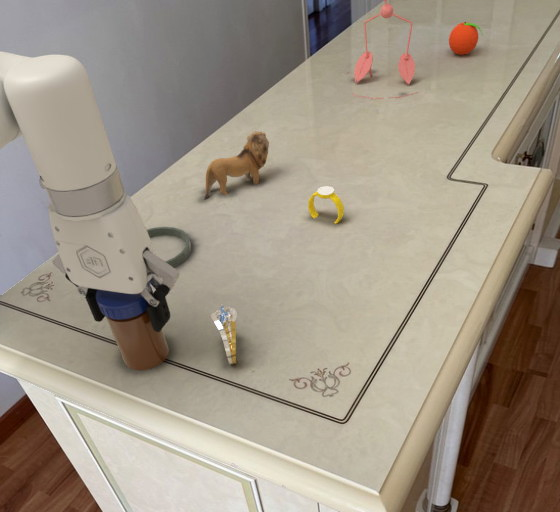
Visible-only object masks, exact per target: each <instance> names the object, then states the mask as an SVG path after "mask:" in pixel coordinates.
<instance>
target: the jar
mask: <svg viewBox="0 0 560 512" xmlns="http://www.w3.org/2000/svg"><path fill="white" fill-rule="evenodd" d="M105 318H106V321H107V323H108V326H109V328H110V330H111V333H112V336H113V339H114V341H115V343H116V346H117V349H118V351H119V353H120V355H121V358H122V360H123V362H124V365H125V366H126V367H127V368H129V369H131V370H134V371H148V370H152V369H153V368H156V367H158V366H159V365H161V364H162V363H163V362H165V360H166V359H167V357H168V356H169V352H170V351H169V350H170V349H169V345H168V342H167V340H166V336H165V332H164V330H163V329H162V330H161V331H160V332H156V331H154V330H153V327H152V324H151V321H150V318H149V315H148V312H147V310H146V311H144V312H143V313H141V314H139V315H137V316H135V317H132V318H128V319H111V318H108V317H106V316H105Z"/></svg>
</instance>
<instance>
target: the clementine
mask: <svg viewBox="0 0 560 512" xmlns="http://www.w3.org/2000/svg"><path fill="white" fill-rule="evenodd" d="M478 30H479V31H478ZM479 32H480V33H481V36H483V31H482V30H481V28H480V26H478V25H477V24H475V23H472V22H468V21H467V22H466V21H464V22H460V23H458V24H457V25H455V26H454V27H453V28H452V30H451V31H450V34H449V36H448V45H449V48H450V50H451V52H453V53H454V54H456V55H459V56H464V55H467V54H470V53H471V52H473V50H474V49H475V48H476V46H477V45H478V42H479Z"/></svg>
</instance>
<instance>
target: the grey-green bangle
mask: <svg viewBox="0 0 560 512" xmlns="http://www.w3.org/2000/svg"><path fill="white" fill-rule="evenodd" d="M146 230H147V232H148V235H149V237H150V239H151V238H154V237H164V236H169V237H176V238H179V239H181V240H182V241H184V242H185V246H184V248H183V249H182V250H181V251H180V252H179V253H178V254H177V255H175V256H174V257H172V258H170V259H168V260H165V262H166V263H168V264H169V265H171V266H172V267H174V268H177V267H179V266H180V265H181V264H183V262H185V261H186V260H187V259H188V257H189V256H190V255H191V252H192V243H191V240H190V237H189V234H188V233H187V232H185V231H184V230H182V229H180V228H177V227H175V226H174V227H172V226H158V227H152V228H146Z"/></svg>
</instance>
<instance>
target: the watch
mask: <svg viewBox="0 0 560 512" xmlns="http://www.w3.org/2000/svg"><path fill="white" fill-rule="evenodd" d="M315 197H318V198H320V199H325V200H326V199H330V200H331V201H332V202H333V203H334V205H335V207H336V209H337V218H336V220H335V221H334V222H333V223H334V224H336V225H337V224H338V223H339V222H341V220H342V218H343V216H344V213H345V210H344V209H345V207H344V204H343V201H342V200H341V198H340V197H339V196H338V194H336V192H335V188H334V187H333V186H328V185H323V186H320V187H319V188H317V190H316V191H315V192H314V193H312V194H311V196H310V197H309V199H308V202H307V208H308V211H309V214H310V216H311V217H312V218H313V219H316V218H318V216H319V215H320V214H319V213H318V212H317V210H316V207H315Z"/></svg>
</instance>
